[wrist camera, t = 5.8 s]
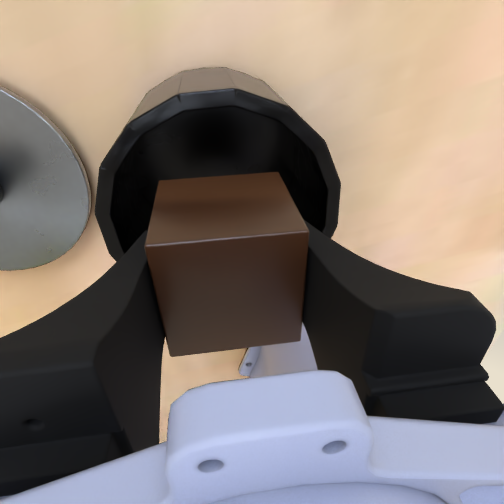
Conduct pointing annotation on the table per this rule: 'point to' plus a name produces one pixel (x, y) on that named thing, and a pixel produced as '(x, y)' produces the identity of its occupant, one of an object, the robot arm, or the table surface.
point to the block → (227, 262)
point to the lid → (37, 187)
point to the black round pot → (211, 150)
